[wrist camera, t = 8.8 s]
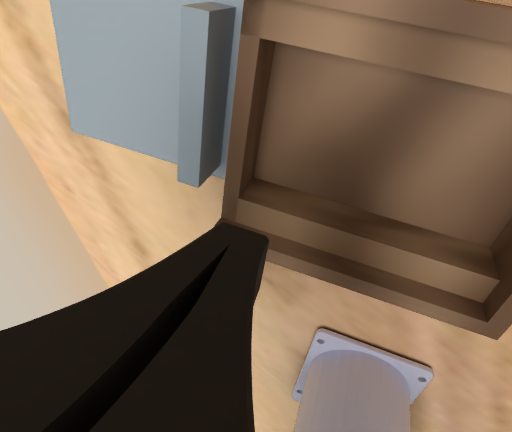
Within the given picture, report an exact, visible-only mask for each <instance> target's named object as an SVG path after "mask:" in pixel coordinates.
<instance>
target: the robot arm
mask: <svg viewBox="0 0 512 432" xmlns="http://www.w3.org/2000/svg"><path fill="white" fill-rule="evenodd" d="M268 245H269V239H268V238H267V236H265V235H262V234H259V233H256V232H253V231H250V230H247V229H244V228H241V227H238V226H234V225H231V224H228V223H225V222H222V223H220V224H218V225H217V226H215V227H214V228H212V229H211V230H209V231H208V232H206V233H205V234H203V235H202V236H200V237H199V238H197V239H196V240H194V241H192V242H191V243H189V244H188V245H186V246H185V247H183V248H181V249H180V250H178V251H177V252H175V253H173V254H172V255H170V256H168V257H167V258H165V259H163V260H162V261H160V262H158V263H156V264H155V265H153V266H151V267H149V268H147V269H146V270H144V271H142V272H140V273H138V274H136V275H134V276H133V277H131V278H129V279H127V280H125V281H123V282H121V283H119V284H117V285H115V286H113V287H111V288H109V289H107V290H105V291H103V292H101V293H98V294H96V295H94V296H91V297H89V298H87V299H85V300H83V301H80V302H78V303H75V304H73V305H70V306H68V307H65V308H63V309H60V310H58V311H55V312H52V313H50V314H47V315H44V316H42V317H39V318H36V319H34V320H31V321H29V322H26V323H23V324H20V325H17V326H14V327H11V328H8V329H5V330H2V331H0V432H255V427H254V414H253V400H252V373H251V339H252V316H253V306H254V302H255V299H256V297H257V294H258V291H259V288H260V284H261V279H262V274H263V269H264V264H265V259H266V255H267V250H268ZM432 378H433V370H432V369H431V368H429V367H427V366H424V365H422V364H419V363H416V362H413V361H411V360H408V359H405V358H403V357H400V356H397V355H394V354H392V353H389V352H386V351H384V350H381V349H378V348H375V347H373V346H370V345H367V344H365V343H362V342H359V341H356V340H354V339H351V338H348V337H346V336H343V335H340V334H337V333H335V332H332V331H329V330H327V329H323V328H321V329H318V330H317V331H316V334H315V336H314V339H313V341H312V344H311V346H310V349H309V351H308V354H307V357H306V359H305V362H304V364H303V367H302V369H301V372H300V374H299V377H298V379H297V382H296V384H295V387H294V390H293V392H292V398H293V399H294V400H296V401H298V402H301V403H300V407H299V411H298V415H297V419H296V424H295V428H294V432H411V429H410V405H411V404H412V403H413V402H414V400H415V399H416V398H417V397H418V396H419V394H420V393H421V392H422V391H423V389H424V388H425V387H426V386H427V384H428V383H429V382H430V381H431V379H432Z"/></svg>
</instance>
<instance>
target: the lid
mask: <svg viewBox="0 0 512 432" xmlns="http://www.w3.org/2000/svg"><path fill="white" fill-rule="evenodd" d="M243 3H244V0H50V5H51V11H52V16H53V22H54V28H55V34H56V40H57V46H58V52H59V58H60V64H61V70H62V76H63V82H64V88H65V94H66V100H67V106H68V112H69V118H70V124H71V130H72V132H76V133H79V134H82V135H85V136H88V137H92V138H95V139H98V140H101V141H105V142H108V143H111V144H114V145H117V146H121V147H124V148H127V149H130V150H133V151H137V152H140V153H143V154H146V155H149V156H153V157H156V158H159V159H162V160H165V161H169V162H172V163H175V164H178V179H177V181H179V182H182V183H185V184H188V185H191V186H194V187H198V188H199V187H200V186H201V185H202V184H203V183H204V182H205V180H206V179H207V178H208V177H209V176H210V175H213V176H217V177H220V178H223V179H225V176H226V167H227V157H228V148H229V138H230V128H231V119H232V109H233V99H234V90H235V80H236V71H237V61H238V51H239V42H240V32H241V23H242V13H243Z"/></svg>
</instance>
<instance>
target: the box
mask: <svg viewBox="0 0 512 432" xmlns="http://www.w3.org/2000/svg"><path fill="white" fill-rule="evenodd" d="M222 222H225V223H228V224H231V225H234V226H238V227H241V228H244V229H247V230H250V231H253V232H256V233H259V234H262V235H265V236H267V238H268V239H269V245H268V250H267V255H266V259H265V261H268V262H271V263H274V264H277V265H280V266H282V267H285V268H288V269H291V270H294V271H297V272H300V273H303V274H306V275H309V276H312V277H315V278H317V279H320V280H323V281H326V282H329V283H332V284H335V285H338V286H341V287H344V288H347V289H350V290H352V291H355V292H358V293H361V294H364V295H367V296H370V297H373V298H376V299H379V300H382V301H385V302H387V303H390V304H393V305H396V306H399V307H402V308H405V309H408V310H411V311H414V312H417V313H420V314H422V315H425V316H428V317H431V318H434V319H437V320H440V321H443V322H446V323H449V324H452V325H454V326H457V327H460V328H463V329H466V330H469V331H472V332H475V333H478V334H481V335H484V336H487V337H489V338H492V339H495V340H498V339H499V338H500V337H501V335H502V334H503V333H504V332H505V331H506V330H507V329H508V328H509V327H510V326H511V324H512V7H510V6H504V5H499V4H493V3H488V2H482V1H477V0H244V3H243V13H242V23H241V32H240V42H239V51H238V61H237V71H236V80H235V90H234V99H233V109H232V119H231V128H230V138H229V148H228V157H227V167H226V176H225V186H224V196H223V205H222V215H221V218H220V220H219V221H218V222H217V224H216V225H215V226H217V225H218V224H220V223H222ZM215 226H214V227H215Z"/></svg>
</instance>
